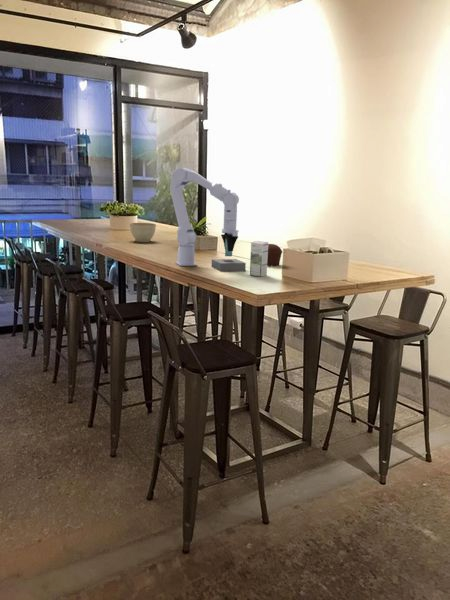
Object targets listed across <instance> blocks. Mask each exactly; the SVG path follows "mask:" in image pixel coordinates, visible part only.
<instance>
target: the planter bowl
mask: <svg viewBox="0 0 450 600" xmlns="http://www.w3.org/2000/svg"><path fill="white" fill-rule="evenodd" d="M156 227H157V224H156V223H151V222H129V228H130V233H131V235H132V237H133V238H134V241H135V242H140V243H149V242H152V241H151V240H152V238H153V237H154V236H155V234H156Z"/></svg>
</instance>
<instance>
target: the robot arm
mask: <svg viewBox="0 0 450 600" xmlns="http://www.w3.org/2000/svg"><path fill="white" fill-rule="evenodd" d="M190 182H194V183H197V184H198V185H200V186H201V187H203V188H205V189H207V191H209V195H211V197H212V196H213V197H214V198H215V199H217V200H219V201H221V202H222V203H223V228H221V233H222V234H221V238H222V242H223V245H224V246H223V247H224V248H225V243H226V240H227V248H228V251H232V252H233V251H234V247H235V245H236V241H237V240H238V239H239V236H238V233H239V230H238V229H237V220H238V219H237V216H238V214H237V213H238V203H239V201H240V198H239V196H238V194H237V193H235V192H231V189H227V188H226V187H224V186H223V184H222V183H217V182H216V183H212V182H211V181H209V180H208V179H206V178H205V177H204V176H202V175H201V174H199V173H198V172H196V171H195V170H192V169H191V168H189V167H185V168H184V167H177V168H175V169H174V170H173V171H172V173H171V180H170V185H169V191H170V197H171V200H172V204H173V208H174V209H173V210H174V212H175V216H176V221H177V224H178V227H177V231H176V232H177V238H176V240H177V243H178V246H179V247H178V248H177V257H176V258H177V261H175V264H177V265H179V266H181V267H185V266H187V267H189V266H194V267H195V266H198V264H197V263H195V249H196V248H195V246H196V245H195V243H196V241H197V239H198V238H197V234H196V232H195V231H194V227H193V226H192V225H191V222H190V218H189V214H188V211H187V206H186V203H185V202H186V201H185V197H184V193H183V190H184V188H185V187H186V185H187V184H189V183H190Z"/></svg>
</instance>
